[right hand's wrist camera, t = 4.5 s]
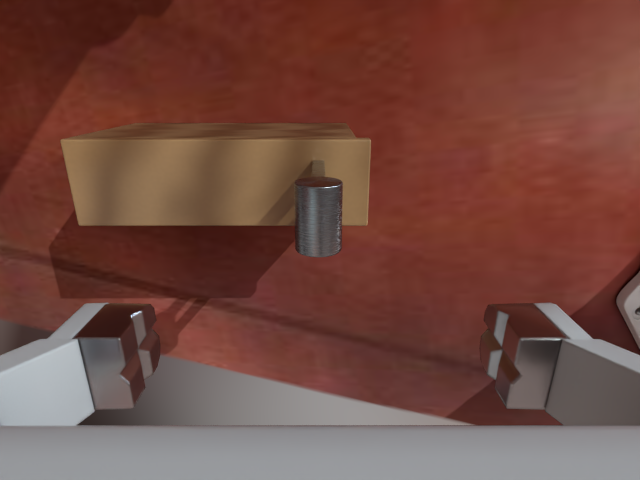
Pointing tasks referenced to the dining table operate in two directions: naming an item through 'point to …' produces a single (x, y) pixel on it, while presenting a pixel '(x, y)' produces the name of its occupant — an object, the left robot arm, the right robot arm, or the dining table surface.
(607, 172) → the dining table surface
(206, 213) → the lid
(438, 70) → the dining table surface
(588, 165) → the dining table surface
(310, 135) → the brown wooden rectangular box
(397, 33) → the dining table surface
